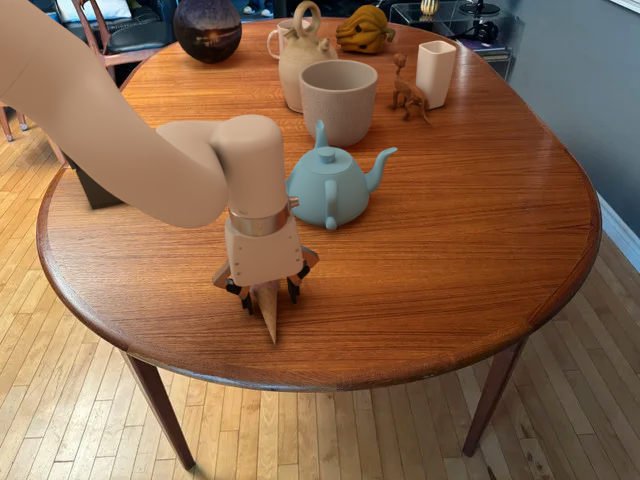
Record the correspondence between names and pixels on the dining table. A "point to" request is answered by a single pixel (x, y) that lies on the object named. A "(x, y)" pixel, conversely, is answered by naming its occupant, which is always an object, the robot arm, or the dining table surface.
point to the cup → (435, 71)
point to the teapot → (332, 183)
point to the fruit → (364, 31)
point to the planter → (338, 99)
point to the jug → (302, 53)
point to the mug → (282, 40)
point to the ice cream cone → (267, 302)
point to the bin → (96, 191)
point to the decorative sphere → (208, 29)
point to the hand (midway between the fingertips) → (271, 302)
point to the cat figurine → (408, 91)
